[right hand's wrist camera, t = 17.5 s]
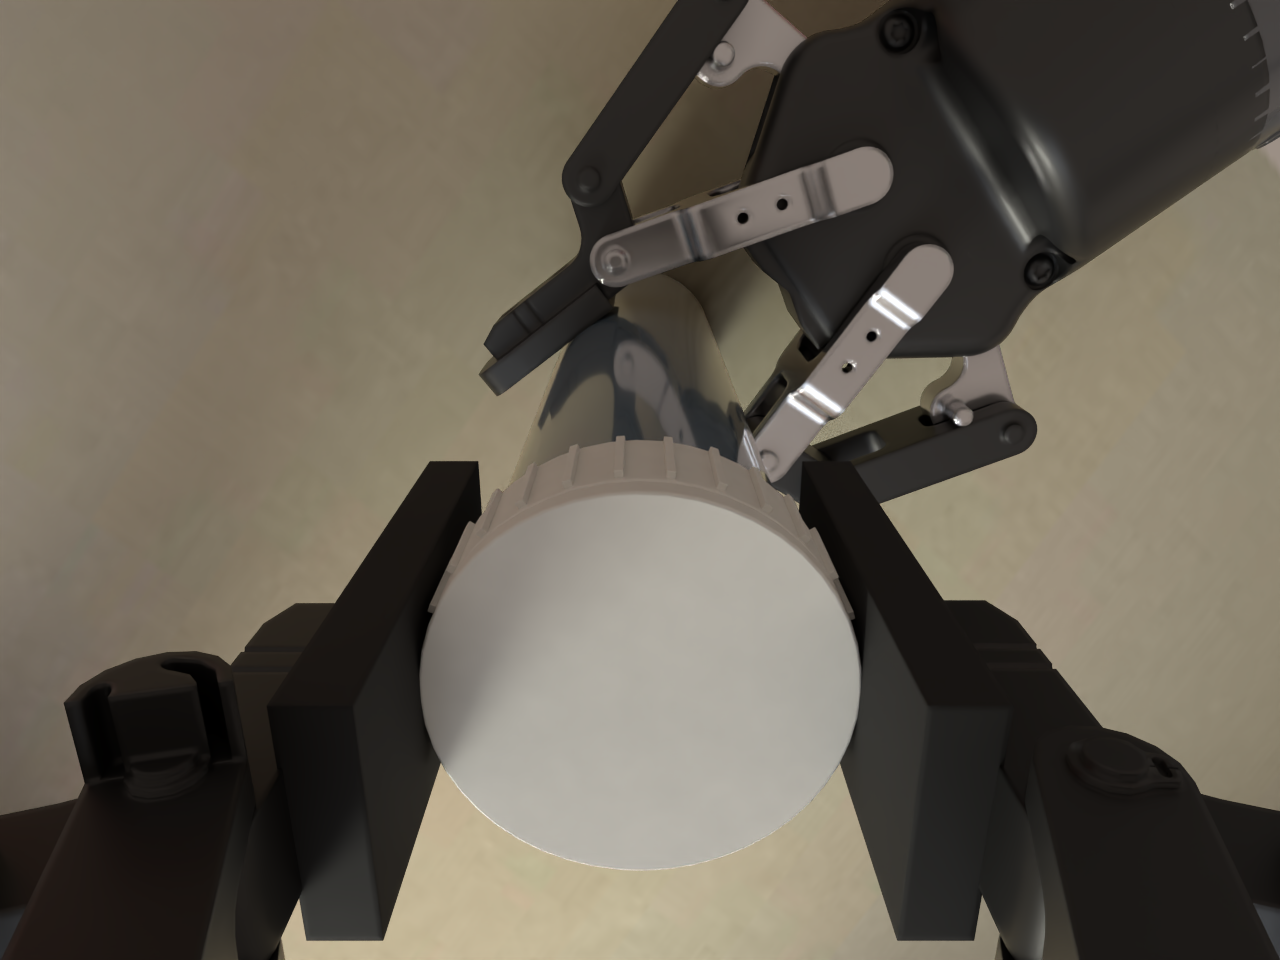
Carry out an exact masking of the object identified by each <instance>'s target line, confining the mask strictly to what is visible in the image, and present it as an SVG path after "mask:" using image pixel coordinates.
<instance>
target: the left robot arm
mask: <svg viewBox="0 0 1280 960" xmlns="http://www.w3.org/2000/svg"><path fill="white" fill-rule="evenodd" d="M754 69H761V70H765V71H768V72H770V73H771V74H773V75H774V79H773V82H772V85H771V88H770V91H769V95H768V98H767V101H766V104H765V107H764V110H763V113H762V116H761V119H760V122H759V126H758V129H757V132H756V135H755V138H754V141H753V144H752V147H751V150H750V153H749V157H748V160H747V163H746V166H745V169H744V172H743V175H742V178H741V179H738V180H735V181H732V182H729V183H727V184H724V185H721V186H718V187H716V188H713V189H710V190H707V191H704V192H702V193H699V194H696V195H693V196H691V197H688V198H685V199H683V200H680V201H678V202H676V203H674V204H672V205H669V206H667V207H664V208H661V209H658V210H655V211H653V212H650V213H647V214H644V215H641V216H639V217H636V218H633V217H632V214H631V211H630V207H629V204H628V201H627V197H626V194H625V191H624V187H623V184H622V181H621V180H622V179H623V178H624V176H625V175H626V173H627V172H628V171H629V169H630V168H631V166H632V165H633V164H634V162H635V161H636V159H637V158H638V157H639V155H640V154H641V152H642V151H643V150H644V148H645V147H646V145H647V144H648V143H649V141H650V140H651V138H652V137H653V136H654V134H655V133H656V131H657V130H658V129H659V127H660V126H661V124H662V123H663V122H664V120H665V119H666V117H667V116H668V115H669V113H670V112H671V110H672V109H673V107H674V106H675V105H676V103H677V102H678V100H679V99H680V98H681V96H682V95H683V93H684V92H685V91H686V89H687V88H688V86H689V85H690V84H691V82H692V81H693V79H694V78H695V79H697V80H698V81H699V82H700V83H701V84H703V85H704V86H706V87H708V88H712V89H722V88H725V87H727V86H729V85H731V84H732V83H734V82H735V81H736V80H737V79H738V78H739V77H740V76H741V75H742V74H743V73H745V72H747V71H749V70H754ZM1279 137H1280V0H889V1H888V2H887V3H885V4H884V5H883V6H882V7H880V8H879V9H878V10H877V11H875V12H874V13H873V14H872V15H870V16H869V17H867V18H866V19H865V20H863V21H862V22H860V23H858V24H855V25H853V26H850V27H846V28H842V29H835V30H827V31H823V32H819V33H816V34H814V35H812V36H810V37H808V38H807V37H806V36H805V35H804V34H803V33H801V32H800V31H799V30H798V29H797V28H796V27H795V26H794V25H792V24H791V23H790V22H789V21H788V20H787V19H786V18H784V17H783V16H782V15H781V14H780V13H779V12H778V11H777V10H775V9H774V8H773V7H772V6H771V5H770V4H769V3H768V2H766V1H765V0H678V1H677V2H676V4H675V5H674V7H673V8H672V10H671V11H670V13H669V14H668V15H667V17H666V18H665V20H664V21H663V23H662V24H661V26H660V27H659V29H658V30H657V31H656V33H655V34H654V36H653V37H652V39H651V40H650V42H649V43H648V45H647V46H646V47H645V49H644V50H643V52H642V53H641V55H640V56H639V58H638V59H637V61H636V62H635V63H634V65H633V66H632V68H631V69H630V71H629V72H628V74H627V75H626V77H625V78H624V79H623V81H622V82H621V84H620V85H619V87H618V88H617V90H616V91H615V93H614V94H613V95H612V97H611V98H610V100H609V101H608V103H607V104H606V106H605V107H604V109H603V110H602V111H601V113H600V114H599V116H598V117H597V119H596V120H595V122H594V123H593V125H592V126H591V127H590V129H589V130H588V132H587V133H586V135H585V136H584V138H583V139H582V141H581V142H580V143H579V145H578V146H577V148H576V149H575V151H574V152H573V154H572V155H571V157H570V158H569V159H568V161H567V162H566V164H565V166H564V169H563V173H562V184H563V187H564V190H565V192H566V194H567V195H568V197H569V198H570V199H571V202H572V205H573V208H574V211H575V214H576V217H577V220H578V224H579V227H580V230H581V238H582V239H581V247H580V251H579V253H578V254H577V256H576V257H574V258H573V259H572V260H571V261H570V262H568V263H567V264H566V265H565V266H563V267H562V268H561V269H560V270H558V271H557V272H556V273H555V274H553V275H552V276H551V277H550V278H548V279H547V280H546V281H544V282H543V283H542V284H541V285H539V286H538V287H537V288H536V289H534V290H533V291H532V292H531V293H529V294H528V295H527V296H526V297H524V298H523V299H522V300H521V301H519V302H518V303H517V304H516V305H514V306H513V307H512V308H510V309H509V310H508V311H507V312H505V313H504V314H503V315H502V316H501V317H500V318H499V320H498V321H497V322H496V323H495V324H494V326H493V328H492V330H491V331H490V333H489V335H488V337H487V339H486V341H485V342H484V345H485V346H486V348H487V349H488V350H489V351H490V353H491V354H492V355H493V357H492V358H491V359H490V360H489V361H488V362H487V363H486V365H485V366H484V368H483V369H482V370H481V372H480V373H479V376H480V377H481V378H482V379H483V380H484V382H485V383H486V384H487V385H488V386H489V387H490V389H491V390H492V391H493V392H494V393H495V395H496V396H499V395H501V394H502V393H504V392H505V391H507V390H508V389H509V388H511V387H512V386H513V385H514V384H516V383H517V382H518V381H520V380H521V379H522V378H524V377H525V376H526V375H527V374H529V373H530V372H531V371H533V370H534V369H535V368H537V367H538V366H539V365H540V364H542V363H543V362H544V361H546V360H547V359H548V358H550V357H551V356H552V355H553V354H555V353H556V352H557V351H559V350H560V349H561V348H563V347H564V346H565V345H566V344H568V343H569V342H570V341H572V340H573V339H574V338H576V337H577V336H578V335H579V334H580V333H581V332H583V331H584V330H585V329H587V328H588V327H590V326H591V325H592V324H594V323H595V322H596V321H598V320H599V319H600V318H602V317H603V316H604V315H605V314H607V313H608V312H609V311H611V310H612V309H613V308H614V303H615V296H616V294H617V293H618V292H620V291H621V290H622V289H624V288H625V287H626V286H627V285H629V284H631V283H634V282H637V281H640V280H643V279H646V278H648V277H651V276H654V275H657V274H660V273H663V272H666V271H668V270H671V269H674V268H677V267H680V266H683V265H686V264H689V263H692V262H697V261H703V260H707V259H711V258H714V257H717V256H720V255H723V254H726V253H729V252H732V251H734V250H737V249H740V248H744V249H745V250H746V252H747V253H748V255H749V256H750V258H751V259H752V260H753V261H754V262H755V263H756V264H757V265H758V266H759V267H760V269H761V270H762V271H764V272H765V273H766V274H767V275H769V276H770V277H771V278H772V279H773V280H775V281H776V282H777V283H778V285H779V287H780V290H781V293H782V296H783V299H784V302H785V304H786V307H787V310H788V312H789V313H790V314H791V316H792V317H793V319H794V320H795V322H796V323H797V324H798V326H799V327H800V330H799V331H798V333H797V334H796V335H795V337H794V338H793V339H792V341H791V342H790V343H789V345H788V346H787V347H786V349H785V350H784V351H783V353H782V354H781V356H780V358H779V360H778V362H777V364H776V368H775V370H774V372H773V374H772V375H771V376H770V378H769V379H768V380H767V382H766V383H765V384H764V386H763V387H762V388H761V390H760V391H759V392H758V394H757V395H756V396H755V398H754V399H753V400H752V402H751V403H750V404H749V406H748V407H747V408H746V410H745V411H744V415H745V417H746V420H747V423H748V425H749V428H750V430H751V433H752V435H753V438H754V440H755V443H756V446H757V448H758V451H759V453H760V456H761V458H762V461H763V463H764V466H765V469H766V471H767V474H768V476H769V479H770V481H771V484H772V487H773V488H774V489H775V490H778V491H780V492H782V493H783V494H785V495H787V494H789V495H790V496H791V497H792V498H793V499H794V500H795V501H796V502H798V503H799V504H800V489H801V474H802V461H851V463H852V464H853V466H854V467H855V469H856V470H857V472H858V473H859V475H860V476H861V478H862V479H863V481H864V482H865V484H866V485H867V487H868V488H869V490H870V491H871V492H872V494H873V495H874V497H875V498H876V500H877V501H878V503H879V504H880V503H883V502H886V501H888V500H891V499H894V498H897V497H900V496H902V495H905V494H908V493H911V492H914V491H916V490H919V489H922V488H925V487H928V486H930V485H933V484H936V483H939V482H942V481H944V480H947V479H950V478H953V477H956V476H958V475H961V474H964V473H967V472H970V471H972V470H975V469H978V468H981V467H984V466H986V465H989V464H992V463H995V462H998V461H1000V460H1003V459H1006V458H1009V457H1012V456H1014V455H1017V454H1020V453H1022V452H1023V451H1025V450H1026V449H1028V448H1029V447H1030V446H1031V445H1032V443H1033V442H1034V440H1035V437H1036V434H1037V424H1036V421H1035V419H1034V418H1033V416H1032V415H1031V414H1030V413H1028V412H1027V411H1025V410H1024V409H1022V408H1021V407H1019V406H1018V405H1017V404H1016V403H1015V402H1014V399H1013V395H1012V391H1011V388H1010V384H1009V380H1008V376H1007V372H1006V369H1005V365H1004V361H1003V357H1002V353H1001V349H1000V346H999V344H1000V343H1001V342H1002V341H1003V340H1004V339H1005V338H1006V337H1007V336H1008V335H1009V334H1010V332H1011V331H1012V329H1013V327H1014V326H1015V324H1016V322H1017V320H1018V319H1019V317H1020V315H1021V314H1022V312H1023V311H1024V309H1025V308H1026V307H1027V306H1028V304H1029V303H1030V302H1031V301H1032V300H1033V299H1034V298H1035V297H1036V296H1037V295H1038V294H1039V293H1040V292H1042V291H1043V290H1044V289H1046V288H1047V287H1049V286H1051V285H1052V284H1054V283H1056V282H1058V281H1059V280H1061V279H1063V278H1065V277H1066V276H1068V275H1070V274H1071V273H1073V272H1075V271H1076V270H1078V269H1079V268H1081V267H1082V266H1084V265H1085V264H1087V263H1088V262H1090V261H1091V260H1093V259H1094V258H1095V257H1097V256H1098V255H1100V254H1101V253H1103V252H1104V251H1106V250H1107V249H1109V248H1110V247H1111V246H1113V245H1114V244H1116V243H1117V242H1119V241H1120V240H1122V239H1123V238H1125V237H1126V236H1127V235H1129V234H1130V233H1132V232H1133V231H1135V230H1136V229H1138V228H1139V227H1141V226H1142V225H1143V224H1145V223H1146V222H1148V221H1149V220H1151V219H1152V218H1154V217H1155V216H1157V215H1158V214H1159V213H1161V212H1162V211H1164V210H1165V209H1167V208H1168V207H1170V206H1171V205H1173V204H1174V203H1175V202H1177V201H1178V200H1180V199H1181V198H1183V197H1184V196H1186V195H1187V194H1189V193H1190V192H1191V191H1193V190H1194V189H1196V188H1197V187H1199V186H1200V185H1202V184H1203V183H1204V182H1206V181H1207V180H1209V179H1210V178H1212V177H1213V176H1215V175H1216V174H1218V173H1219V172H1220V171H1222V170H1223V169H1225V168H1226V167H1228V166H1229V165H1231V164H1232V163H1234V162H1235V161H1237V160H1238V159H1239V158H1241V157H1242V156H1244V155H1245V154H1247V153H1248V152H1250V151H1251V150H1253V149H1259V148H1261V147H1263V146H1265V145H1267V144H1269V143H1270V142H1272V141H1274V140H1276V139H1277V138H1279ZM933 357H952V362H951V365H950V367H949V369H948V370H947V372H946V373H945V374H944V375H943V376H942V377H940V378H939V379H937V380H935V381H933V382H931V383H930V384H929V385H928V386H927V387H926V388H925V389H924V391H923V393H922V395H921V399H920V406H918V407H915V408H912V409H910V410H907V411H904V412H901V413H899V414H896V415H893V416H891V417H888V418H885V419H882V420H880V421H877V422H874V423H872V424H869V425H866V426H864V427H861V428H858V429H855V430H853V431H850V432H847V433H845V434H842V435H839V436H837V437H834V438H831V439H828V440H826V441H823V442H820V443H818V444H815V445H812V446H811V445H809V444H810V442H811V441H812V440H813V439H814V437H815V436H816V435H817V434H818V432H819V431H820V430H821V429H822V427H823V426H824V425H825V424H826V423H827V422H828V421H830V420H833V419H835V418H837V417H838V416H839V415H841V414H842V413H843V412H844V410H845V409H846V408H847V407H848V406H849V404H850V403H851V402H852V401H853V399H854V398H855V397H856V395H857V394H858V393H859V392H860V390H861V389H862V388H863V387H864V385H865V384H866V383H867V382H868V380H869V379H870V378H871V377H872V375H873V374H874V373H875V372H876V370H877V369H878V368H879V366H880V365H881V364H882V363H883V361H884V360H885V359H891V358H933ZM845 363H848V365H847V366H846V367H845V368H842V366H843V365H844V364H845Z"/></svg>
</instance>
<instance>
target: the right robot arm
mask: <svg viewBox="0 0 1280 960" xmlns="http://www.w3.org/2000/svg"><path fill="white" fill-rule="evenodd" d="M799 513H800V515H801V517H802V520H803V521H804V523H805V524H806V526H807V527H808V529H809V530H810V529H812V528H814V527H815V528H816V530H817V531H818V533H819V535H820V537H821V540H822V542H823V544H824V546H825V548H826V550H827V552H828V555H829V557H830V559H831V561H832V563H833V565H834V568H835V570H836V572H837V574H838V576H839V577H838V579H839V581H840V583H841V586H842V588H843V590H844V592H845V594H846V596H847V599H848V601H849V603H850V605H851V607H852V609H853V612H854V615H855V619H853V620H851V623H852V626H853V629H854V632H855V635H856V639H857V642H858V647H859V654H860V660H861V667H862V674H861V692H860V701H859V710H858V717H857V721H856V724H855V727H854V730H853V734H852V737H851V740H850V743H849V745H848V747H847V749H846V751H845V753H844V755H843V757H842V759H841V761H840V765H841V768H842V771H843V774H844V777H845V780H846V783H847V786H848V790H849V793H850V796H851V799H852V802H853V805H854V808H855V811H856V814H857V817H858V820H859V824H860V827H861V830H862V833H863V836H864V839H865V842H866V845H867V848H868V851H869V854H870V858H871V861H872V864H873V867H874V870H875V873H876V876H877V879H878V882H879V885H880V888H881V892H882V895H883V898H884V901H885V904H886V907H887V910H888V913H889V916H890V919H891V922H892V925H893V929H894V932H895V935H896V938H897V941H974V938H975V932H976V926H977V921H978V915H979V909H980V903H981V897H982V895H983V898H984V900H985V902H986V904H987V906H988V909H989V911H990V913H991V915H992V917H993V920H994V922H995V924H996V926H997V928H998V930H999V933H1000V934H999V940H998V945H997V951H996V956H995V960H1280V811H1276V810H1271V809H1266V808H1261V807H1256V806H1251V805H1246V804H1241V803H1237V802H1232V801H1227V800H1222V799H1218V798H1214V797H1211V796H1207V795H1203V794H1201V793H1200V791H1199V789H1198V787H1197V785H1196V783H1195V781H1194V780H1193V779H1192V778H1191V776H1190V775H1189V774H1188V773H1187V771H1186V770H1185V769H1184V767H1183V766H1182V765H1181V764H1180V763H1179V762H1178V761H1176V760H1175V759H1173V758H1172V757H1171V756H1169V755H1168V754H1166V753H1165V752H1164V751H1162V750H1161V749H1159V748H1158V747H1156V746H1154V745H1152V744H1150V743H1147V742H1145V741H1143V740H1141V739H1138V738H1136V737H1134V736H1132V735H1129V734H1127V733H1122V732H1118V731H1114V730H1110V729H1106V728H1103V727H1102V726H1101V725H1100V724H1099V722H1098V721H1097V720H1096V719H1095V717H1094V716H1093V715H1092V713H1091V712H1090V711H1089V710H1088V708H1087V707H1086V706H1085V705H1084V703H1083V702H1082V701H1081V700H1080V698H1079V697H1078V696H1077V695H1076V693H1075V692H1074V691H1073V690H1072V688H1071V687H1070V686H1069V685H1068V683H1067V682H1066V681H1065V680H1064V678H1063V677H1062V676H1061V675H1060V673H1059V672H1058V671H1057V670H1056V669H1052V663H1051V662H1050V661H1049V660H1048V658H1047V657H1046V656H1045V654H1044V653H1043V652H1042V651H1041V649H1037V648H1036V643H1035V642H1034V641H1033V639H1032V638H1031V637H1030V636H1029V634H1028V633H1027V632H1026V631H1025V629H1024V628H1023V627H1022V626H1021V624H1020V623H1019V622H1018V621H1017V620H1016V619H1014V618H1012V617H1011V616H1009V615H1008V614H1006V613H1004V612H1003V611H1001V610H1000V609H998V608H996V607H995V606H993V605H992V604H990V603H988V602H987V601H985V600H943V599H942V597H941V596H940V594H939V593H938V591H937V590H936V588H935V587H934V585H933V584H932V582H931V581H930V579H929V578H928V576H927V575H926V573H925V572H924V570H923V569H922V567H921V566H920V564H919V563H918V561H917V560H916V558H915V557H914V555H913V554H912V552H911V551H910V549H909V548H908V546H907V545H906V543H905V542H904V540H903V539H902V537H901V536H900V534H899V533H898V531H897V530H896V528H895V527H894V525H893V524H892V522H891V521H890V519H889V518H888V516H887V515H886V513H885V512H884V510H883V509H882V507H881V506H880V504H879V503H878V501H877V500H876V498H875V497H874V495H873V494H872V492H871V491H870V490H869V488H868V487H867V485H866V484H865V482H864V481H863V479H862V478H861V476H860V475H859V473H858V472H857V470H856V469H855V467H854V466H853V464H852V463H851V461H802V474H801V489H800V504H799ZM481 515H482V510H481V495H480V480H479V465H478V461H430V462H429V463H428V465H427V466H426V468H425V469H424V471H423V472H422V474H421V475H420V477H419V478H418V480H417V481H416V483H415V484H414V486H413V487H412V489H411V490H410V492H409V493H408V495H407V496H406V498H405V499H404V501H403V502H402V504H401V505H400V507H399V508H398V510H397V511H396V513H395V514H394V516H393V517H392V519H391V520H390V522H389V523H388V525H387V526H386V528H385V529H384V531H383V532H382V534H381V535H380V537H379V538H378V540H377V541H376V543H375V544H374V546H373V547H372V549H371V550H370V552H369V553H368V555H367V556H366V558H365V559H364V561H363V562H362V564H361V565H360V567H359V568H358V570H357V571H356V573H355V574H354V576H353V577H352V579H351V580H350V582H349V583H348V585H347V586H346V588H345V589H344V591H343V592H342V594H341V595H340V597H339V598H338V600H337V601H336V603H296V604H294V605H292V606H291V607H289V608H288V609H286V610H285V611H283V612H281V613H280V614H278V615H277V616H275V617H273V618H272V619H270V620H269V621H267V622H265V623H264V624H263V625H262V626H261V628H260V629H259V630H258V631H257V633H256V634H255V635H254V636H253V638H252V639H251V640H250V641H249V643H248V644H247V645H246V646H245V652H241V653H240V654H239V655H238V657H237V658H236V659H235V660H234V662H233V663H232V664H231V665H229V664H228V663H226V662H225V661H224V660H223V659H221V658H220V657H219V656H215V655H211V654H206V653H201V652H197V651H191V652H166V653H161V654H156V655H152V656H147V657H142V658H137V659H134V660H131V661H129V662H126V663H123V664H121V665H118V666H115V667H113V668H110V669H107V670H105V671H103V672H102V673H100V674H98V675H97V676H95V677H93V678H92V679H90V680H88V681H87V682H85V683H84V684H82V685H80V686H79V687H78V688H77V689H76V690H75V691H74V693H73V694H72V695H71V696H70V697H69V698H68V699H67V700H66V701H65V702H64V706H65V710H66V713H67V717H68V721H69V725H70V729H71V732H72V736H73V740H74V744H75V748H76V751H77V755H78V759H79V763H80V767H81V770H82V774H83V778H84V782H85V784H84V787H83V789H82V791H81V793H80V795H79V797H78V799H74V800H70V801H66V802H63V803H59V804H54V805H49V806H44V807H39V808H34V809H29V810H24V811H20V812H15V813H10V814H5V815H0V960H285V956H284V951H283V945H282V940H281V937H282V934H283V932H284V930H285V928H286V926H287V923H288V921H289V919H290V917H291V915H292V912H293V910H294V908H295V906H296V904H297V901H298V899H299V900H300V905H301V911H302V917H303V923H304V929H305V935H306V941H383V940H384V937H385V933H386V930H387V927H388V924H389V921H390V918H391V915H392V912H393V909H394V906H395V903H396V899H397V896H398V893H399V890H400V887H401V884H402V881H403V878H404V875H405V872H406V869H407V865H408V862H409V859H410V856H411V853H412V850H413V847H414V844H415V841H416V838H417V835H418V831H419V828H420V825H421V822H422V819H423V816H424V813H425V810H426V807H427V804H428V801H429V797H430V794H431V791H432V788H433V785H434V782H435V779H436V776H437V773H438V770H439V767H440V763H441V761H440V759H439V758H438V756H437V754H436V752H435V750H434V748H433V745H432V742H431V740H430V737H429V734H428V731H427V728H426V726H425V722H424V717H423V711H422V705H421V695H420V682H419V669H420V660H421V651H422V646H423V642H424V639H425V635H426V631H427V628H428V624H429V622H430V620H431V617H432V615H433V613H430V612H428V608H429V605H430V603H431V600H432V598H433V596H434V594H435V592H436V590H437V587H438V585H439V583H440V581H441V579H442V576H443V574H444V572H445V570H446V568H447V566H448V563H449V561H450V559H451V558H452V556H453V554H454V552H455V549H456V547H457V545H458V543H459V541H460V538H461V536H462V534H463V532H464V530H465V528H466V526H467V524H468V523H469V521H471V522H472V523H474V524H476V522H477V521H478V519H479V517H480V516H481Z"/></svg>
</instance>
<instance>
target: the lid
mask: <svg viewBox="0 0 1280 960" xmlns="http://www.w3.org/2000/svg"><path fill="white" fill-rule="evenodd" d="M838 577H839V576H838V574H837V572H836V570H835V568H834V565H833V563H832V561H831V559H830V557H829V555H828V552H827V550H826V548H825V546H824V544H823V542H822V540H821V537H820V535H819V533H818V531H817V530H816V528H815V527H814V528H812V529H810V530H809V529H808V527H807V526H806V524H805V523H804V521H803V520H802V517H801V515H800V513H799V511H798V508H797V506H796V504H795V501H794V499H793V498H792V497H791V496H790V495H789V494H787V495H786V496H784V497H783V496H782V495H781V494H780V493H779V492H778V491H777V490H775V489H774V488H773V487H772V486H770V485H769V484H768V483H767V482H766V481H764V480H763V479H762V476H761V473H760V470H759V469H757V468H755V467H754V466H752V468H751V469H750V470H748V469H746V468H745V467H743V466H741V465H740V464H738V463H736V462H733V461H731V460H729V459H727V458H724V457H722V456H720V454H719V450H718V449H717V448H714V447H710V449H709V451H706V450H703V449H699V448H696V447H693V446H689V445H683V444H677V443H673V438H672V437H666V436H664V440H663V441H650V440H629V441H625V436H616V442H608V443H603V444H598V445H593V446H588V447H584V448H581V449H580V448H579V446H578V444H576V445H573V446H570V448H569V453H566V454H563V455H560V456H558V457H556V458H554V459H552V460H550V461H548V462H546V463H544V464H542V465H540V466H537V464H536V463H535V462H534V463H532V464H530V465H529V466H528V467H527V470H526V473H525V475H524V476H522V477H521V478H519V479H518V480H516V481H515V482H513V483H512V484H511V485H510V486H509V487H508V488H507V489H506V490H504V491H503V492H502V491H501V490H499V489H497V490H496V491H494V492H493V494H492V496H491V498H490V501H489V503H488V505H487V508H486V510H485V511H484V513H483V514H482V515H481V516H480V517H479V519H478V521H477V522H476V524H474V523H472V522H471V521H469V523H468V524H467V526H466V528H465V530H464V532H463V534H462V536H461V538H460V541H459V543H458V545H457V547H456V549H455V552H454V554H453V556H452V558H451V559H450V561H449V563H448V566H447V568H446V570H445V572H444V574H443V576H442V579H441V581H440V583H439V585H438V587H437V590H436V592H435V594H434V596H433V598H432V600H431V603H430V605H429V608H428V612H430V613H433V615H432V617H431V620H430V622H429V624H428V628H427V631H426V635H425V639H424V642H423V646H422V651H421V660H420V669H419V682H420V695H421V705H422V711H423V717H424V722H425V726H426V728H427V731H428V734H429V737H430V740H431V742H432V745H433V748H434V750H435V752H436V754H437V756H438V758H439V759H440V761H441V763H442V765H443V767H444V769H445V771H446V772H447V773H448V775H449V776H450V778H451V779H452V780H453V782H454V783H455V785H456V786H457V787H458V789H459V790H460V791H461V792H462V793H463V794H464V795H465V797H466V798H467V799H468V800H469V801H470V802H471V803H472V804H473V805H474V806H475V807H476V808H477V809H478V810H479V811H480V812H481V813H483V814H484V815H485V816H486V817H487V818H489V819H490V820H491V821H492V822H493V823H495V824H496V825H497V826H499V827H500V828H502V829H503V830H505V831H507V832H508V833H510V834H511V835H513V836H514V837H516V838H517V839H519V840H521V841H523V842H525V843H527V844H529V845H531V846H533V847H535V848H537V849H539V850H541V851H544V852H547V853H550V854H552V855H555V856H558V857H560V858H563V859H566V860H570V861H574V862H578V863H582V864H586V865H590V866H596V867H603V868H610V869H617V870H643V871H645V870H660V869H672V868H678V867H684V866H690V865H696V864H700V863H703V862H707V861H710V860H714V859H717V858H721V857H724V856H726V855H729V854H731V853H734V852H736V851H739V850H741V849H744V848H746V847H748V846H750V845H752V844H754V843H755V842H757V841H759V840H761V839H763V838H765V837H767V836H769V835H770V834H772V833H773V832H774V831H776V830H777V829H779V828H780V827H782V826H783V825H784V824H786V823H787V822H789V821H790V820H791V819H792V818H794V817H795V816H796V815H797V814H798V813H799V812H800V811H801V810H803V809H804V808H805V807H806V806H807V805H808V804H809V803H810V802H811V801H812V800H813V799H814V797H815V796H816V795H817V794H818V793H819V792H820V791H821V789H822V788H823V787H824V786H825V785H826V783H827V782H828V780H829V779H830V777H831V776H832V774H833V773H834V771H835V770H836V768H837V767H838V765H839V764H840V761H841V759H842V757H843V755H844V753H845V751H846V749H847V747H848V745H849V743H850V740H851V737H852V734H853V730H854V727H855V724H856V721H857V717H858V710H859V701H860V692H861V674H862V667H861V660H860V654H859V647H858V642H857V639H856V635H855V632H854V629H853V626H852V623H851V620H853V619H855V615H854V612H853V609H852V607H851V605H850V603H849V601H848V599H847V596H846V594H845V592H844V590H843V588H842V586H841V583H840V581H839V579H838Z"/></svg>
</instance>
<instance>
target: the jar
mask: <svg viewBox="0 0 1280 960" xmlns="http://www.w3.org/2000/svg"><path fill="white" fill-rule="evenodd" d="M616 436H625V441H629V440H650V441H663V440H664V436H666V437H672V438H673V443H677V444H683V445H689V446H693V447H696V448H699V449H703V450H706V451H709V449H710V447H714V448H717V449H718V450H719V454H720V456H722V457H724V458H727V459H729V460H731V461H733V462H736V463H738V464H740V465H741V466H743V467H745V468H746V469H748V470H750V469H751V468H752V466H754V467H755V468H757V469H759V470H760V473H761V476H762V479H763V480H764V481H766V482H767V483H768V484H769V485H770V486H772V484H771V481H770V479H769V476H768V474H767V471H766V469H765V466H764V463H763V461H762V458H761V456H760V453H759V451H758V448H757V446H756V443H755V440H754V438H753V435H752V433H751V430H750V428H749V425H748V423H747V420H746V417H745V415H744V412H743V410H742V407H741V405H740V402H739V400H738V397H737V394H736V392H735V389H734V387H733V384H732V382H731V379H730V376H729V374H728V371H727V369H726V366H725V364H724V361H723V359H722V356H721V353H720V351H719V348H718V346H717V343H716V341H715V338H714V336H713V333H712V330H711V328H710V325H709V323H708V320H707V318H706V315H705V312H704V310H703V308H702V307H701V305H700V303H699V302H698V300H697V299H696V297H695V296H694V295H693V294H692V293H691V292H690V291H689V290H688V289H687V288H686V287H685V286H684V285H682V284H681V283H680V282H678V281H676V280H675V279H673V278H671V277H669V276H666V275H664V274H661V273H660V274H657V275H654V276H651V277H648V278H646V279H643V280H640V281H637V282H634V283H631V284H629V285H627V286H626V287H625V288H624V289H622V290H621V291H620V292H618V293H617V294H616V296H615V303H614V308H613V309H612V310H611V311H609V312H608V313H607V314H605V315H604V316H603V317H602V318H600V319H599V320H598V321H596V322H595V323H594V324H592V325H591V326H590V327H588V328H587V329H585V330H584V331H583V332H581V333H580V334H579V335H578V336H577V337H576V338H574V339H573V340H572V341H570V342H569V343H568V344H566V345H565V346H564V347H563V348H562V349H561V352H560V354H559V357H558V359H557V362H556V365H555V367H554V370H553V372H552V375H551V377H550V380H549V383H548V385H547V388H546V390H545V393H544V395H543V398H542V401H541V403H540V406H539V408H538V411H537V413H536V416H535V419H534V421H533V424H532V426H531V429H530V431H529V434H528V437H527V439H526V442H525V444H524V447H523V449H522V452H521V455H520V457H519V460H518V462H517V465H516V467H515V470H514V473H513V475H512V478H511V480H510V483H509V485H508V487H509V486H510V485H511V484H512V483H513V482H515V481H516V480H518V479H519V478H521V477H522V476H524V475H525V473H526V470H527V467H528V466H529V465H530V464H532V463H534V462H535V463H536V464H537V466H540V465H542V464H544V463H546V462H548V461H550V460H552V459H554V458H556V457H558V456H560V455H563V454H566V453H569V448H570V446H573V445H576V444H578V446H579V448H580V449H581V448H584V447H588V446H593V445H598V444H603V443H608V442H616Z"/></svg>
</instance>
